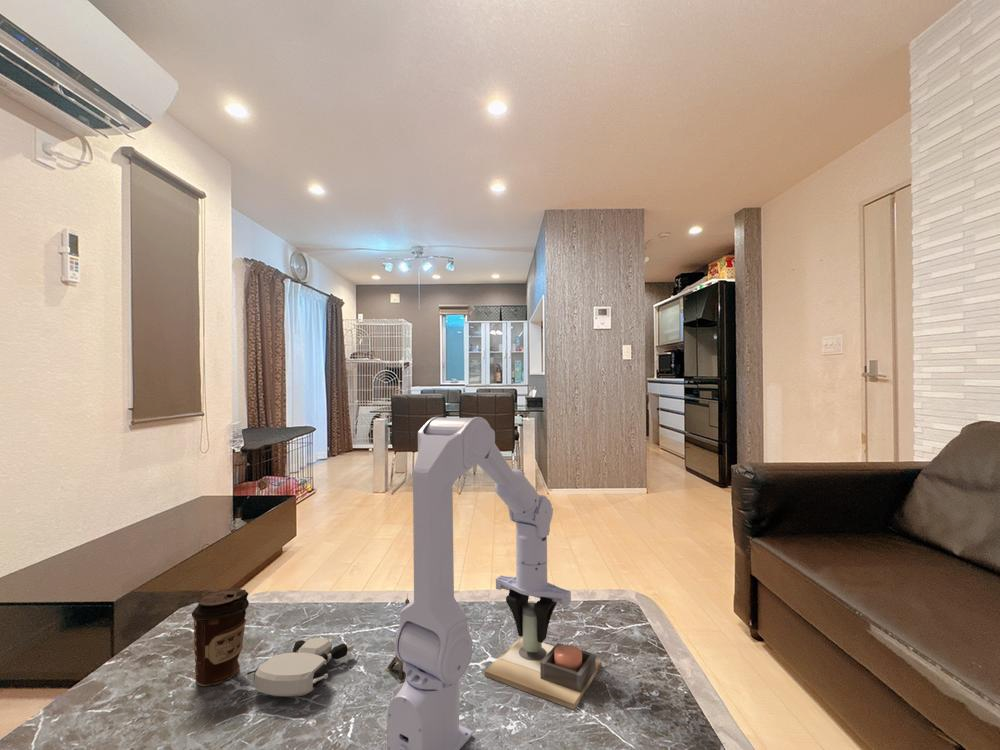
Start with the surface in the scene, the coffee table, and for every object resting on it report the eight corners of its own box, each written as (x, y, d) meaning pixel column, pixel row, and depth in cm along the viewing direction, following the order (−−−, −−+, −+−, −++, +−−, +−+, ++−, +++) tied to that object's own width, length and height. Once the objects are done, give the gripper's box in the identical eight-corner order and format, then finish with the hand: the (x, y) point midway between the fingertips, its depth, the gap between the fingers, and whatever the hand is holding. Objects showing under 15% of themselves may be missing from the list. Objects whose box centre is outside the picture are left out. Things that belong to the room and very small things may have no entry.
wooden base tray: (574, 709, 64) (573, 686, 64) (484, 676, 72) (484, 655, 73) (601, 665, 75) (600, 646, 75) (521, 640, 83) (521, 623, 84)
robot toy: (295, 656, 80) (235, 704, 65) (297, 630, 81) (238, 671, 66) (357, 661, 78) (309, 711, 64) (359, 635, 79) (312, 678, 64)
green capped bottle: (536, 654, 75) (536, 612, 76) (519, 648, 77) (519, 608, 78) (545, 644, 78) (544, 605, 79) (528, 639, 80) (527, 600, 81)
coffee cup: (259, 665, 76) (262, 588, 77) (216, 695, 68) (221, 609, 69) (220, 657, 78) (224, 583, 79) (175, 685, 70) (180, 603, 71)
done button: (576, 676, 68) (576, 663, 69) (550, 667, 71) (549, 654, 71) (586, 661, 72) (586, 649, 73) (561, 654, 75) (560, 642, 75)
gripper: (576, 560, 79) (578, 637, 78) (508, 547, 86) (508, 618, 85) (561, 572, 73) (562, 656, 72) (489, 557, 80) (489, 633, 79)
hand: (532, 637), depth 78 cm, fingers closed on green capped bottle, 3 cm apart
